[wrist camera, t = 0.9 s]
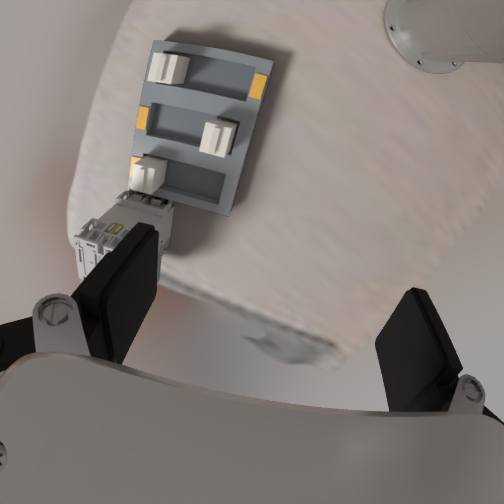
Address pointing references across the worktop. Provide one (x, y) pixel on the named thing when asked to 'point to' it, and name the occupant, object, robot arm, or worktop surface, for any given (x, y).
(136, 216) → the circuit breaker
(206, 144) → the tab
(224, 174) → the switch bank
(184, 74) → the tab
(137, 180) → the tab
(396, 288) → the worktop surface
